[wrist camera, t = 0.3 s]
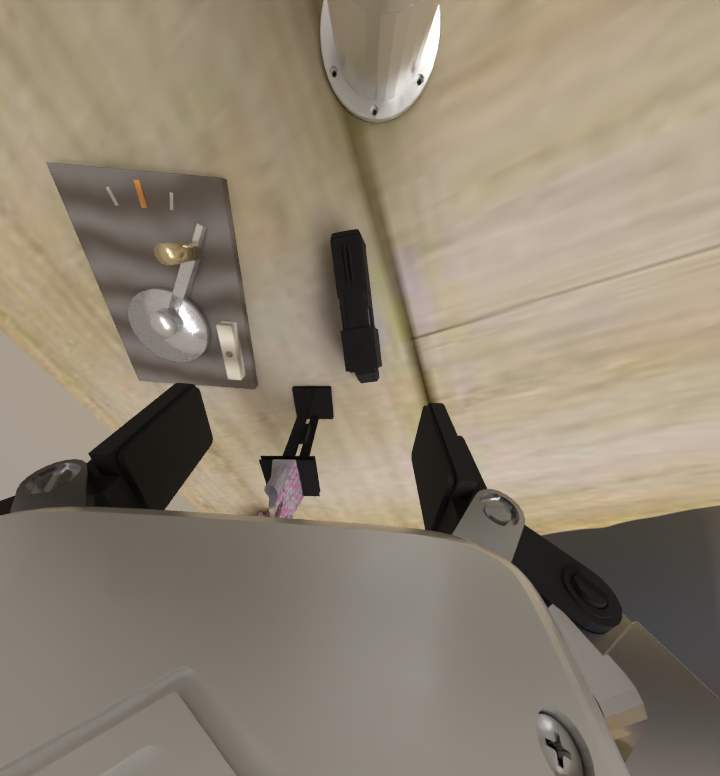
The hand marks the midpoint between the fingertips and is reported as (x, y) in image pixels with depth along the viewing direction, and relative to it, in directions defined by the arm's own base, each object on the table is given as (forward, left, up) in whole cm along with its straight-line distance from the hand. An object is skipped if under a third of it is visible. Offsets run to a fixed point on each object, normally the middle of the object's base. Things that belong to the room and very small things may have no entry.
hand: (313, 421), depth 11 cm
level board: (+5, -28, -35) cm, 45 cm away
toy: (+5, +2, -36) cm, 36 cm away
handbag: (+24, -6, -35) cm, 43 cm away
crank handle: (+4, -26, -33) cm, 43 cm away
